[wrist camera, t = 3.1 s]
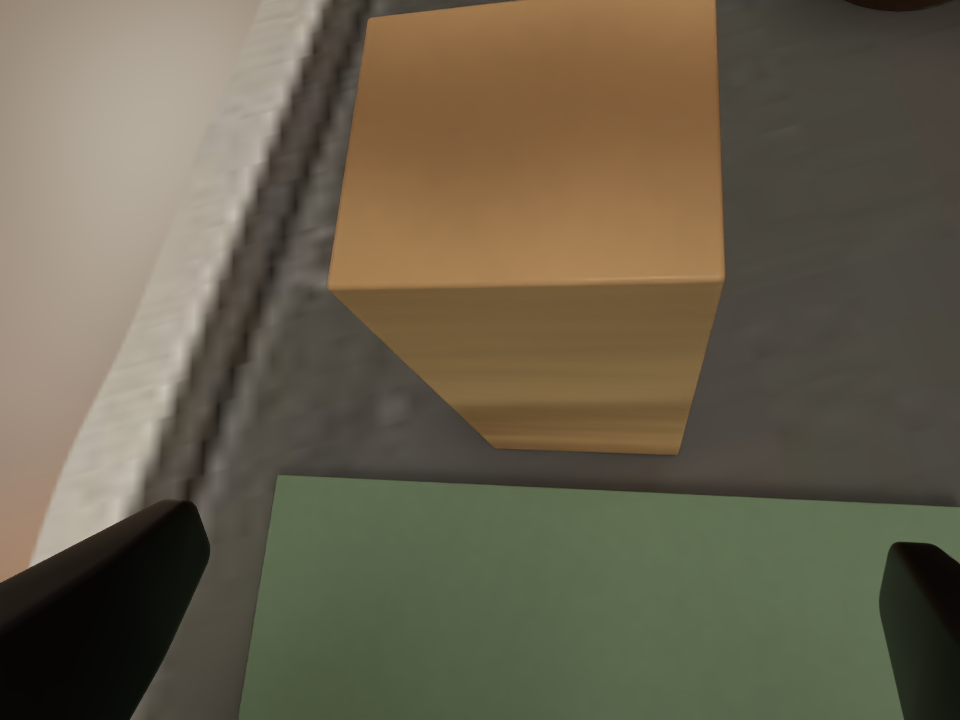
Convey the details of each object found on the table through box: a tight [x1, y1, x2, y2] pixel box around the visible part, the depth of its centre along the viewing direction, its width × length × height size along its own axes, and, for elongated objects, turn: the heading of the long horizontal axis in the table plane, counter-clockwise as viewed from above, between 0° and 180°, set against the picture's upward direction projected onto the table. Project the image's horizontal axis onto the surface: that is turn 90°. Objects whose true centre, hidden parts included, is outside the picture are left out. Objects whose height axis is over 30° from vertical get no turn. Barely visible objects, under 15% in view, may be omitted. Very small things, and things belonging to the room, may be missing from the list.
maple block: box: [327, 0, 725, 455], centre depth 16 cm, size 5×6×12 cm
